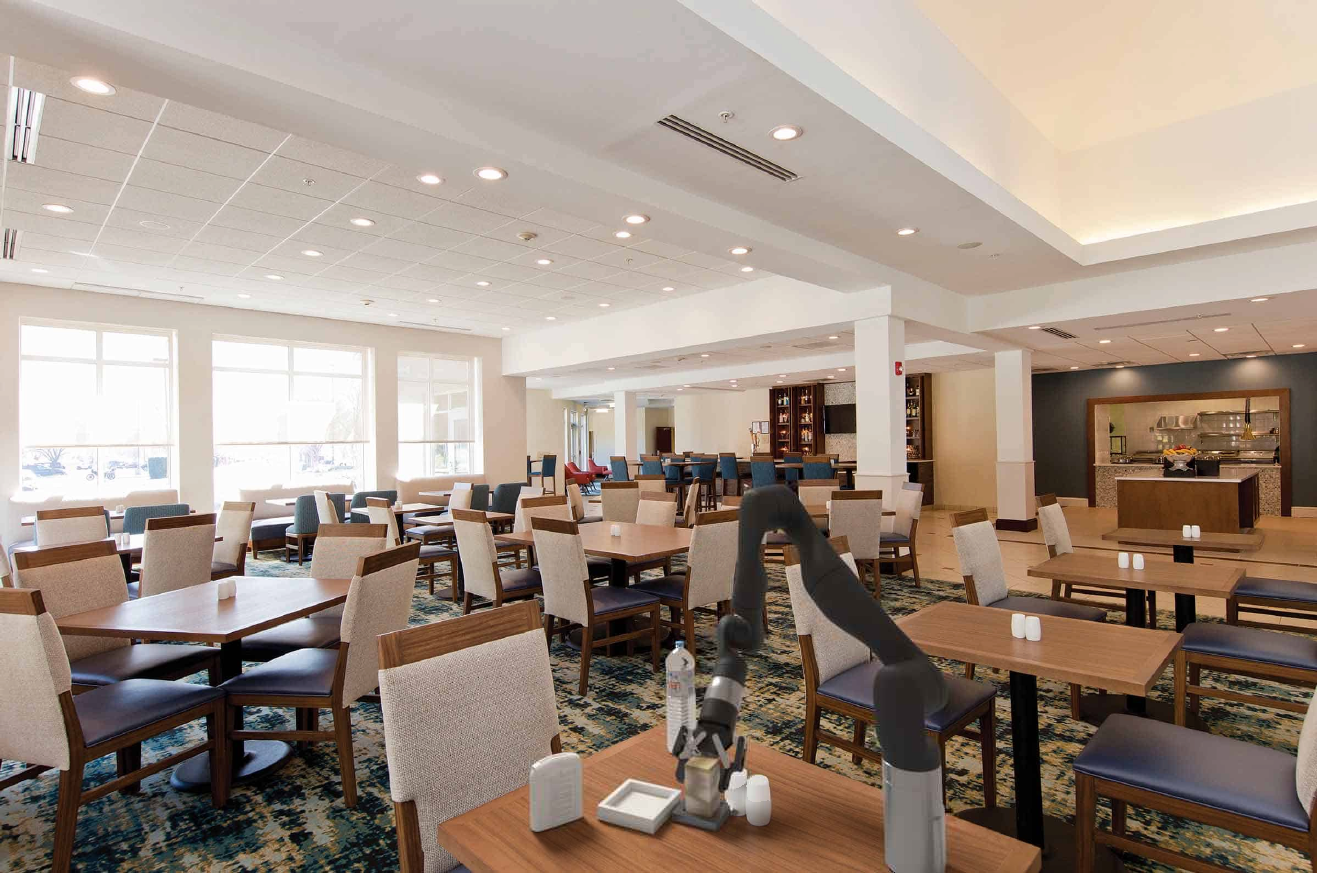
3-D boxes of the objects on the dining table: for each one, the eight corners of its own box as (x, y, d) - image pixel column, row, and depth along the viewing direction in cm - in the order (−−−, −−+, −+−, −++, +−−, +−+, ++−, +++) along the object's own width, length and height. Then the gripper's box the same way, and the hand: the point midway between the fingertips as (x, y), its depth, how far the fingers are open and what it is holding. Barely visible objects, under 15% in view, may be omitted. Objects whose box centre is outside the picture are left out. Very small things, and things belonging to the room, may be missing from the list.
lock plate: (734, 808, 131) (733, 800, 131) (716, 832, 123) (715, 823, 123) (691, 798, 135) (691, 791, 135) (671, 820, 127) (671, 812, 127)
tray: (681, 803, 133) (681, 790, 133) (653, 834, 123) (652, 820, 123) (629, 791, 139) (628, 778, 139) (597, 819, 128) (597, 805, 128)
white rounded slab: (576, 809, 132) (575, 744, 133) (586, 818, 129) (585, 752, 129) (526, 825, 127) (525, 758, 127) (535, 836, 123) (534, 767, 124)
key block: (720, 811, 130) (719, 758, 130) (710, 824, 126) (708, 769, 126) (696, 806, 132) (695, 754, 133) (685, 818, 128) (684, 764, 128)
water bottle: (662, 747, 159) (660, 640, 160) (688, 742, 162) (685, 636, 163) (675, 759, 153) (672, 647, 154) (702, 753, 156) (699, 643, 157)
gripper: (684, 691, 140) (659, 771, 129) (749, 701, 133) (729, 786, 123) (695, 708, 144) (672, 787, 134) (759, 719, 138) (740, 802, 127)
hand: (699, 786), depth 128 cm, fingers open, 8 cm apart
